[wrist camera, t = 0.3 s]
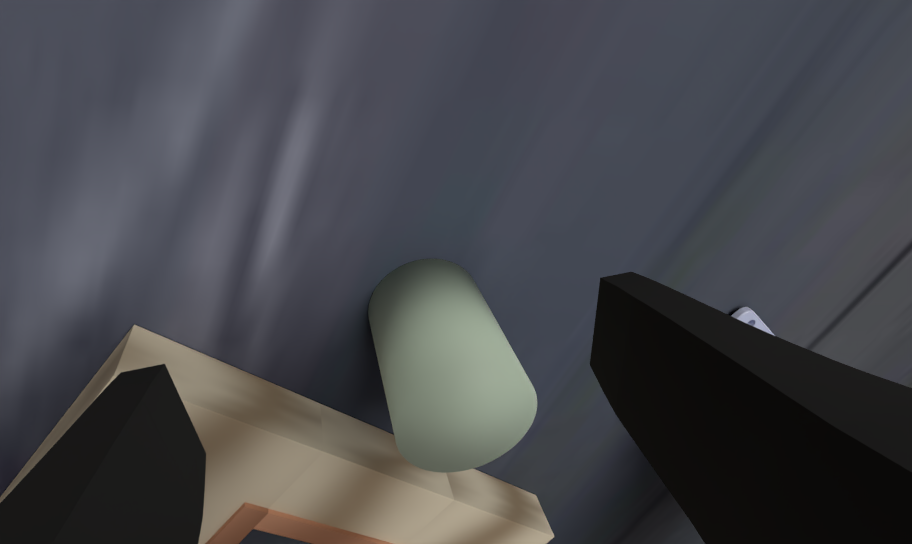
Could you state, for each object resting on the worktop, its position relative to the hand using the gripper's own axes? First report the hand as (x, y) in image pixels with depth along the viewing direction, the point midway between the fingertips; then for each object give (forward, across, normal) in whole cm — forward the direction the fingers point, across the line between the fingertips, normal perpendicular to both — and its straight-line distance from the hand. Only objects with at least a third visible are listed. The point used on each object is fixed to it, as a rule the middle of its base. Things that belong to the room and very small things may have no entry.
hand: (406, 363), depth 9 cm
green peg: (+10, -2, +6) cm, 12 cm away
